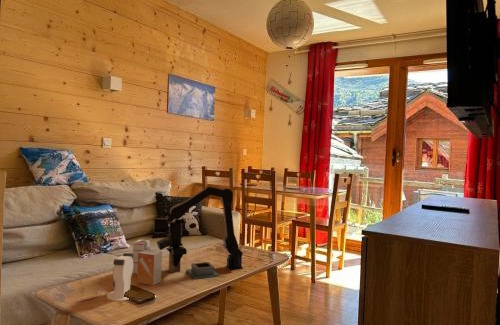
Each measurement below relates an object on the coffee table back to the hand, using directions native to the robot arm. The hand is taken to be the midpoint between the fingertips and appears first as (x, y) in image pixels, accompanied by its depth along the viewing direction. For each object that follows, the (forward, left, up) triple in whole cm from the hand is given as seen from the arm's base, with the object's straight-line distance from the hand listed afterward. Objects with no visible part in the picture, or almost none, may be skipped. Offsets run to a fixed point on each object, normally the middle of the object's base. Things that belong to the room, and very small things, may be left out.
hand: (174, 265), depth 173 cm
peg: (0, 0, -2) cm, 2 cm away
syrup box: (+15, -3, -3) cm, 16 cm away
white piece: (+26, +23, -3) cm, 35 cm away
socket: (-11, +9, -2) cm, 14 cm away
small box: (+14, +12, -3) cm, 19 cm away
